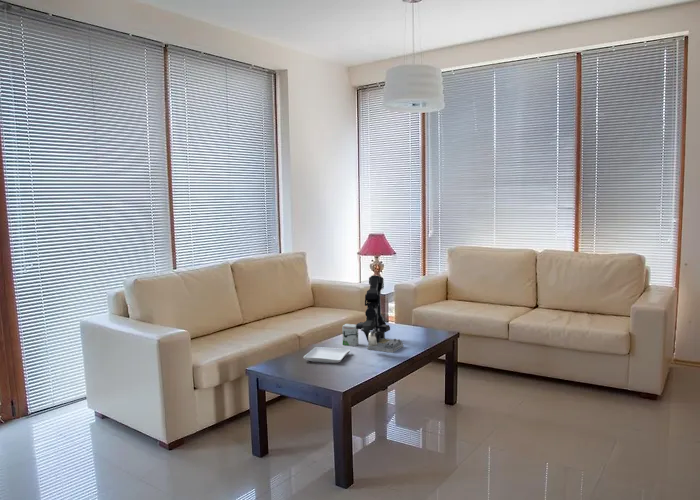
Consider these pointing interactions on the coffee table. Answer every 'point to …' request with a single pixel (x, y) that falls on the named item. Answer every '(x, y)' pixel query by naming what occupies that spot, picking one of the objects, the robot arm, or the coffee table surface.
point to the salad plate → (326, 354)
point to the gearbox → (387, 345)
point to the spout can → (372, 338)
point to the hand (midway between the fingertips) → (373, 342)
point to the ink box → (350, 335)
